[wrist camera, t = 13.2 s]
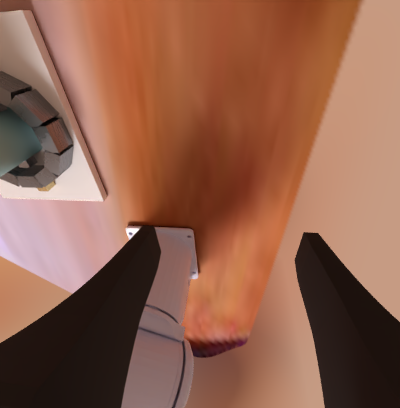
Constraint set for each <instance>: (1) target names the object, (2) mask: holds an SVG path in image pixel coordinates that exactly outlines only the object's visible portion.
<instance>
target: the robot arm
mask: <svg viewBox="0 0 400 408" xmlns="http://www.w3.org/2000/svg"><path fill="white" fill-rule="evenodd" d="M126 232H127V235H128V237H129V241H128V242H127V243H126V244H125V245H124V246H123V248H122V249H121V250H120V251H119V252H118V253H117V254H116V255H115V256H114V257H113V258H112V259H111V260H110V261H109V262H108V263H107V264H106V265H105V266H104V267H103V268H102V269H101V270H100V271H99V272H98V273H97V274H95V275H94V276H93V277H92V278H91V279H90V280H89V281H88V282H86V283H85V284H84V285H83V286H82V287H81V288H79V289H78V290H77V291H76V292H75V293H73V294H72V295H71V296H69V297H68V298H67V299H66V300H64V301H63V302H61V303H60V304H59V305H58V306H56V307H55V308H54V309H52V310H51V311H49V312H48V313H47V314H45V315H44V316H42V317H41V318H39V319H38V320H37V321H35V322H33V323H32V324H30V325H29V326H27V327H26V328H24V329H23V330H21V331H19V332H18V333H16V334H15V335H13V336H12V337H10V338H8V339H6V340H5V341H3V342H1V343H0V408H185V406H186V403H187V400H188V397H189V393H190V389H191V385H192V378H193V368H194V367H193V366H194V365H193V364H194V361H193V354H192V351H191V346H190V344H189V342H188V340H186V339H184V338H183V337H184V331H185V327H184V326H181V324H182V322H183V319H184V314H185V308H186V303H187V297H188V291H189V286H190V280H191V279H197V278H198V275H199V274H198V266H197V257H196V249H195V240H194V232H193V230H192V229H189V228H168V227H154V226H144V225H143V226H127V228H126ZM189 235H190V236H189ZM295 264H296V272H297V278H298V283H299V287H300V290H301V294H302V298H303V301H304V305H305V308H306V312H307V316H308V319H309V323H310V326H311V330H312V334H313V338H314V343H315V349H316V354H317V360H318V366H319V372H320V378H321V384H322V391H323V397H324V405H325V408H400V322H399V321H398V320H397V319H396V318H394V317H393V316H392V315H391V314H390V313H389V312H388V311H387V310H386V309H385V308H384V307H383V306H382V305H381V304H380V303H379V302H378V301H377V300H376V299H375V298H373V296H372V295H371V294H370V293H369V292H368V291H367V290H366V289H365V288H364V287H363V286H362V284H361V283H360V282H359V281H357V279H356V278H355V277H354V276H353V275H352V273H351V272H350V271H349V270H348V269H347V268H346V267H345V266H344V264H343V263H342V262H341V261H340V259H339V258H338V257H337V256H336V255H335V253H334V252H333V251H332V250H331V249H330V247H329V246H328V245H327V244H326V242H325V241H324V240H323V239H322V237H321V236H320V235H319V234H318V233H305V232H304V233H303V236H302V239H301V242H300V246H299V249H298V251H297V255H296V258H295Z"/></svg>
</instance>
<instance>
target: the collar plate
mask: <svg viewBox="0 0 400 408" xmlns="http://www.w3.org/2000/svg"><path fill="white" fill-rule="evenodd" d="M0 103H1V104H3V105H5V106H6V107H9V108H10V109H12V110H13V111H14V112H15V113H16V114H17V115H18V116H19V117H20V118H21V119H22V120H23V121H24V122H25V123H27V124H28V125H29V126H30V127H31V128H32V129H33V131H34V133H35V135H36V136H37V138H38V140H39V142H40V144H41V146H42V147H43V149H42V150H41V151H39V152H38V153H36V154H34V157H35V158H36V160H37V163H36V164H35V165H33V166H32V167H30V168H20V167H19V165H18V166H16V167H15V168H13V169H12V170H10V171H9V172H7V173H5V174H4V175H2V176H1V177H0V194H1V195H2V197H3V198H13V199H45V200H77V201H105V199H106V198H107V195H106V192H105V190H104V187H103V185H102V182H101V180H100V177H99V175H98V173H97V170H96V168H95V165H94V163H93V160H92V158H91V155H90V153H89V151H88V148H87V146H86V143H85V141H84V138H83V136H82V133H81V131H80V129H79V126H78V124H77V121H76V119H75V116H74V114H73V111H72V109H71V107H70V104H69V102H68V99H67V97H66V94H65V92H64V89H63V87H62V85H61V82H60V80H59V77H58V75H57V72H56V70H55V67H54V65H53V63H52V60H51V58H50V55H49V53H48V50H47V48H46V45H45V43H44V41H43V38H42V36H41V33H40V31H39V28H38V26H37V23H36V21H35V19H34V16H33V14H32V11H31V10H17V11H7V12H0Z"/></svg>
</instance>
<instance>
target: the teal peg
mask: <svg viewBox="0 0 400 408" xmlns="http://www.w3.org/2000/svg"><path fill="white" fill-rule="evenodd" d="M42 149H43V147H42V146H41V144H40V142H39V140H38V138H37V136H36V135H35V133H34V131H33V129H32V128H31V127H30V126H29V125H28V124H27V123H25V122H24V121H23V120H22V119H21V118H20V117H19V116H18V115H17V114H16V113H15V112H14V111H13V110H12V109H10V108H9V107H6V106H5V105H3V104H1V103H0V177H1V176H2V175H4V174H5V173H7V172H9V171H10V170H12V169H13V168H15V167H16V166H18V165H19V167H20V168H30V167H32V166H33V165H35V164H36V163H37V160H36V158H35V157H34V154H36V153H38V152H39V151H41V150H42Z"/></svg>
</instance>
